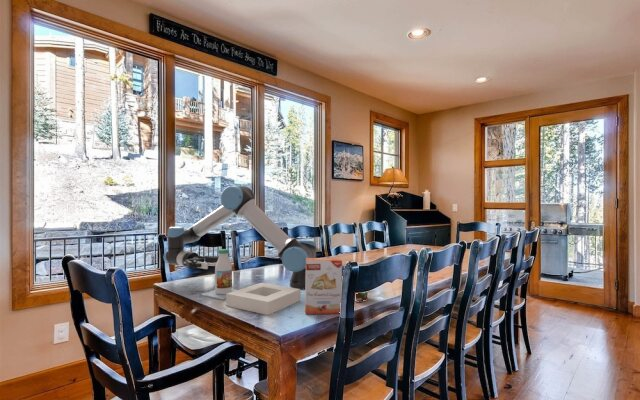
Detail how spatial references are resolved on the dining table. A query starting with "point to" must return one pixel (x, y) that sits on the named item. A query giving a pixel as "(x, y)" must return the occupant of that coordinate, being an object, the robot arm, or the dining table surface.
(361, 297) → the food container
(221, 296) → the mat
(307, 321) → the dining table surface
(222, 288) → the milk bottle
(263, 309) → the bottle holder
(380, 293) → the dining table surface
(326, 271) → the cracker box
